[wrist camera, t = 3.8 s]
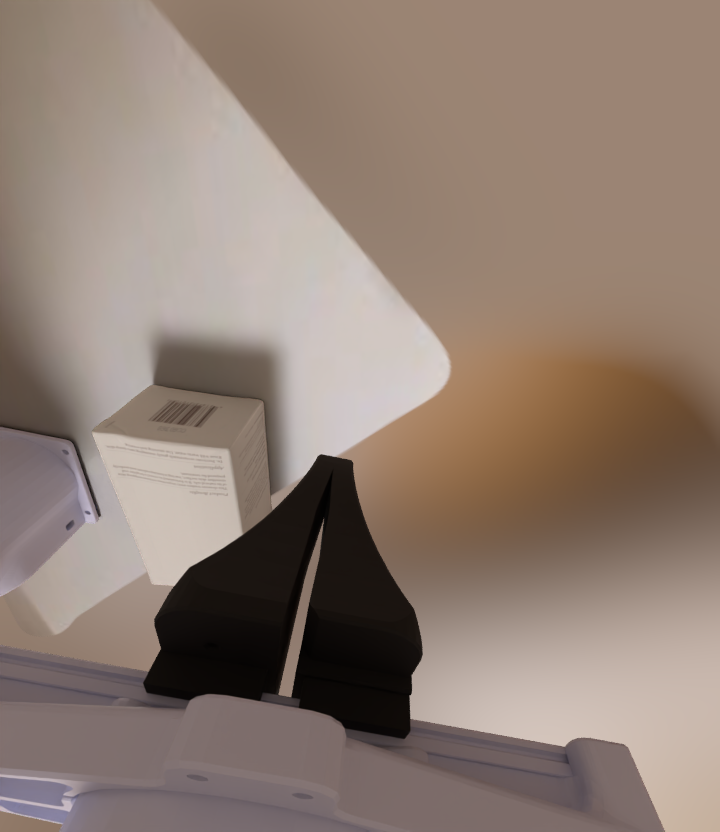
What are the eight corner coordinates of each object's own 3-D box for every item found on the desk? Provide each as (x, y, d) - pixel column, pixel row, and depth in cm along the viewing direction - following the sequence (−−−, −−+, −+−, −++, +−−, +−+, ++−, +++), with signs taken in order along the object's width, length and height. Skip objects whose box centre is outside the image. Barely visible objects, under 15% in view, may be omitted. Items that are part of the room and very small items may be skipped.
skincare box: (151, 381, 23) (187, 523, 31) (81, 431, 18) (146, 586, 26) (270, 399, 23) (276, 537, 31) (235, 454, 18) (252, 602, 26)
